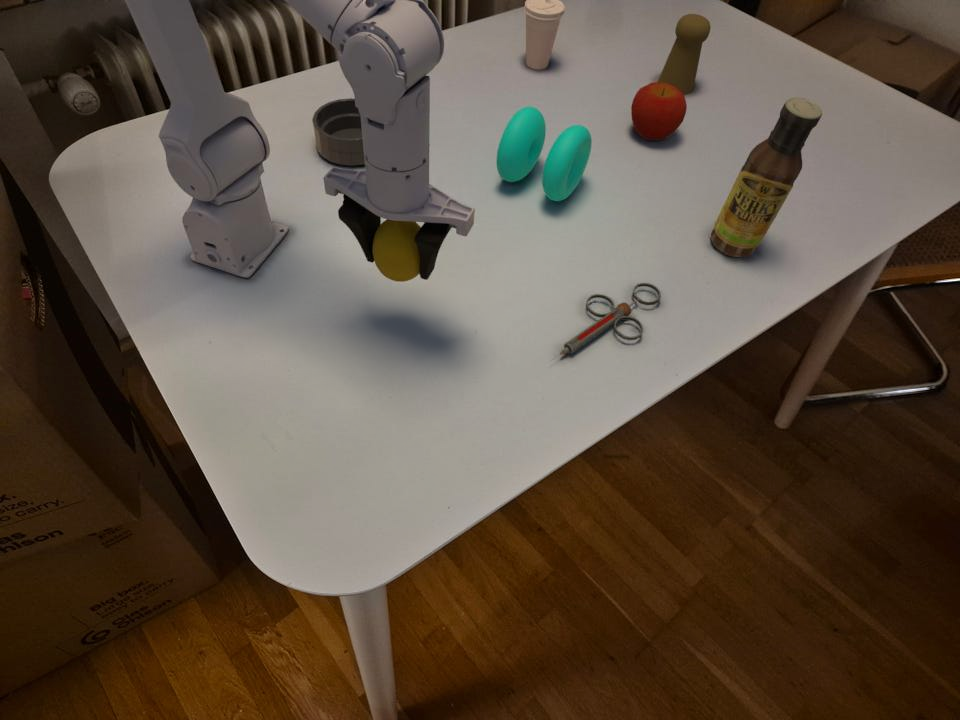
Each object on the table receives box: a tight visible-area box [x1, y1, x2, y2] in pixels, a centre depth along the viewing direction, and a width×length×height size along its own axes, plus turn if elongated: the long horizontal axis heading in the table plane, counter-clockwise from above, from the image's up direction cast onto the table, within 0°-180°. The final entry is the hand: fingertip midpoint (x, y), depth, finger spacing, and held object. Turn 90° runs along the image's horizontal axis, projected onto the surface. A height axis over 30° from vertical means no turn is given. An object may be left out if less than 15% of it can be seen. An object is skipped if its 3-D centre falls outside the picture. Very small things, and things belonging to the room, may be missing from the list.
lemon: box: [373, 219, 421, 283], centre depth 67 cm, size 6×6×8 cm
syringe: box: [550, 282, 662, 362], centre depth 76 cm, size 8×18×2 cm, turn 131°
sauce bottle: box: [710, 97, 823, 258], centre depth 79 cm, size 6×6×20 cm
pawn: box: [657, 13, 711, 96], centre depth 106 cm, size 6×6×11 cm
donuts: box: [496, 106, 592, 202], centre depth 88 cm, size 10×10×10 cm
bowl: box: [311, 97, 365, 166], centre depth 93 cm, size 10×10×4 cm
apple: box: [630, 81, 688, 141], centre depth 98 cm, size 8×8×8 cm
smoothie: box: [523, 0, 565, 71], centre depth 107 cm, size 6×6×14 cm
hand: (401, 264), depth 69 cm, fingers closed on lemon, 5 cm apart
